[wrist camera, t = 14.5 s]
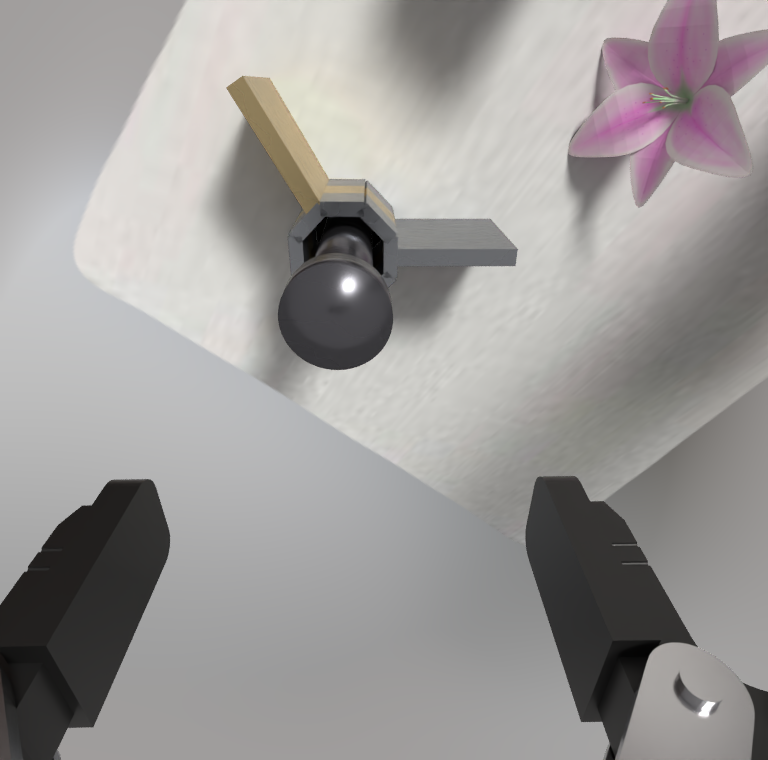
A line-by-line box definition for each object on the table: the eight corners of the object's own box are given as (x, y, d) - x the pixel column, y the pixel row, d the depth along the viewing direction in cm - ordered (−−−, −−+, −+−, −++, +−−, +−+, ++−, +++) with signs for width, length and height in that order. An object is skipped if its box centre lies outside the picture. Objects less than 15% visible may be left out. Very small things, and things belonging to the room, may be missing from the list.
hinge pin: (383, 189, 34) (393, 263, 20) (383, 259, 37) (392, 369, 22) (312, 189, 34) (272, 264, 20) (317, 259, 36) (283, 370, 22)
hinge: (505, 79, 31) (541, 78, 25) (485, 268, 37) (509, 307, 31) (255, 78, 31) (224, 75, 24) (275, 269, 37) (255, 308, 30)
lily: (680, -59, 29) (672, -85, 22) (835, 55, 28) (872, 62, 22) (552, 122, 36) (518, 141, 30) (671, 215, 36) (663, 255, 29)
